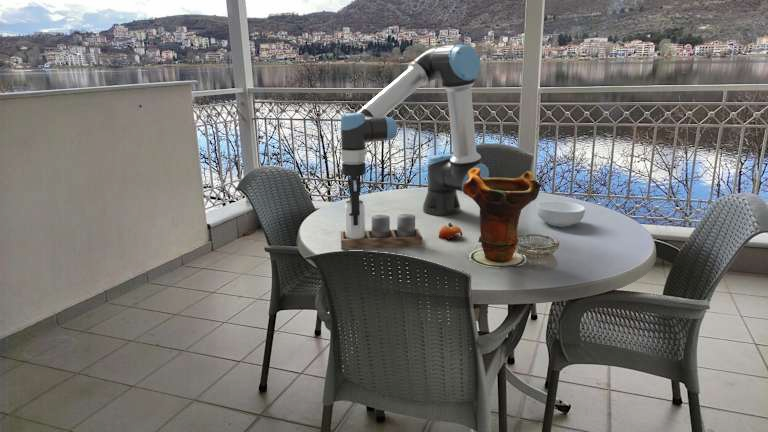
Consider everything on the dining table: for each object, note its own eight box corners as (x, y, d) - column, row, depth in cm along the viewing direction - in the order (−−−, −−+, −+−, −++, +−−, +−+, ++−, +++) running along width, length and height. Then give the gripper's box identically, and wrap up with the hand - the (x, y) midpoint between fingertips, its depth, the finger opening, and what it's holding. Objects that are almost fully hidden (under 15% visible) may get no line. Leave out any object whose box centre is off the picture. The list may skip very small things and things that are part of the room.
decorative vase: (549, 267, 155) (552, 174, 147) (472, 274, 153) (471, 180, 145) (525, 244, 175) (527, 160, 167) (456, 250, 173) (455, 166, 165)
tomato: (465, 230, 185) (460, 219, 180) (463, 247, 182) (458, 236, 176) (444, 231, 189) (438, 220, 183) (441, 248, 185) (435, 237, 180)
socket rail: (417, 236, 184) (417, 212, 181) (422, 245, 175) (422, 219, 172) (340, 239, 181) (340, 214, 178) (341, 248, 172) (340, 222, 169)
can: (368, 238, 175) (367, 203, 172) (350, 241, 172) (349, 205, 169) (360, 232, 180) (359, 198, 177) (342, 235, 178) (341, 201, 174)
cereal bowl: (590, 223, 198) (592, 205, 196) (571, 234, 186) (573, 214, 184) (548, 215, 209) (549, 198, 207) (527, 224, 197) (529, 206, 195)
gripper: (367, 167, 160) (368, 239, 167) (363, 156, 179) (364, 221, 185) (342, 168, 160) (344, 240, 166) (341, 157, 178) (343, 222, 185)
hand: (355, 230), depth 176 cm, fingers closed on can, 6 cm apart
